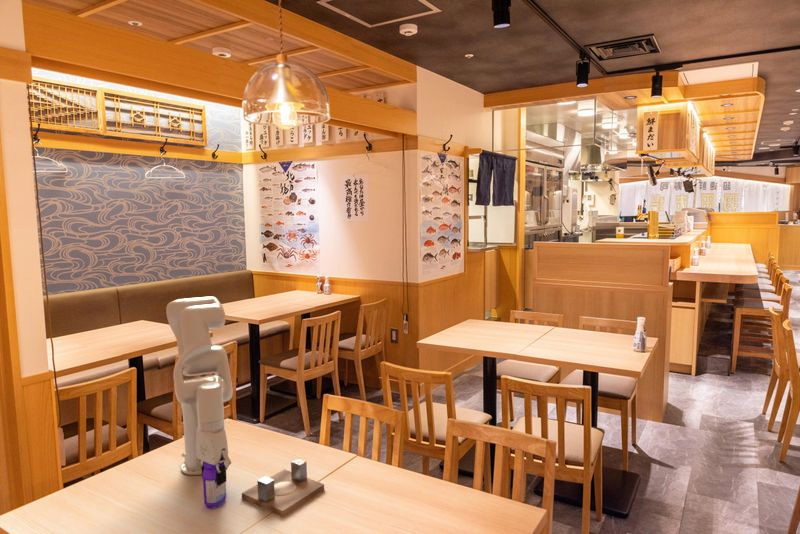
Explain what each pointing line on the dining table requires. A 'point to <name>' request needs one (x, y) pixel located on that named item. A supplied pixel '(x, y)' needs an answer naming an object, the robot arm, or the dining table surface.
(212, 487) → the bottle
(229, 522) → the dining table surface
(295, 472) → the post pair
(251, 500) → the base board
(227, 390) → the robot arm
